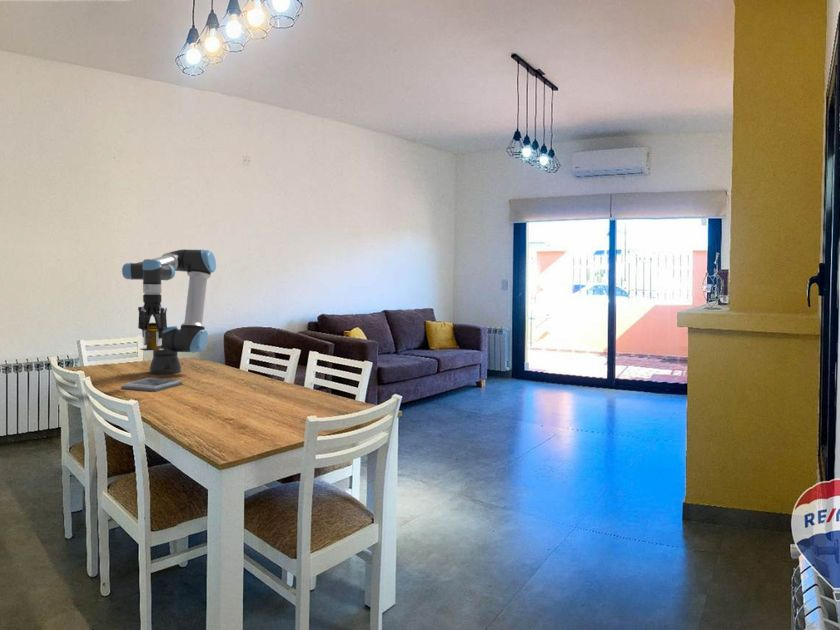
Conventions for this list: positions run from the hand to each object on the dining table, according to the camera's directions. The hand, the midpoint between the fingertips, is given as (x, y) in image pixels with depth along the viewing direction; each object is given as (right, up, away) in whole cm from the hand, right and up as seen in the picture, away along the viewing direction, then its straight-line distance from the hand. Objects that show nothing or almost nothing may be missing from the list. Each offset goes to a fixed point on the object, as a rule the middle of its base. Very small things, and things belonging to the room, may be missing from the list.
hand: (152, 345), depth 274 cm
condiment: (-1, -2, 0) cm, 2 cm away
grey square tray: (-1, -19, +1) cm, 19 cm away
